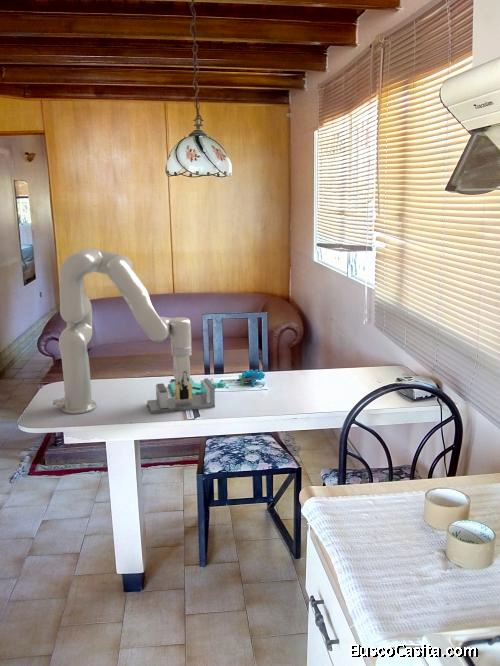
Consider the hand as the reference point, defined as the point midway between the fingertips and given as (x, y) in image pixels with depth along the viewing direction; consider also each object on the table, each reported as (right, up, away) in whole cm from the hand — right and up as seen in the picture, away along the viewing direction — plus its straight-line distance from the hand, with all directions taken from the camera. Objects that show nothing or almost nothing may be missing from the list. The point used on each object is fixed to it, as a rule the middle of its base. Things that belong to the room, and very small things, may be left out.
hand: (183, 396), depth 213 cm
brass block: (0, 0, 0) cm, 0 cm away
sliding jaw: (-8, -2, -2) cm, 8 cm away
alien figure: (+2, 0, +18) cm, 19 cm away
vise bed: (-1, -4, +1) cm, 4 cm away
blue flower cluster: (+26, +2, +25) cm, 36 cm away
